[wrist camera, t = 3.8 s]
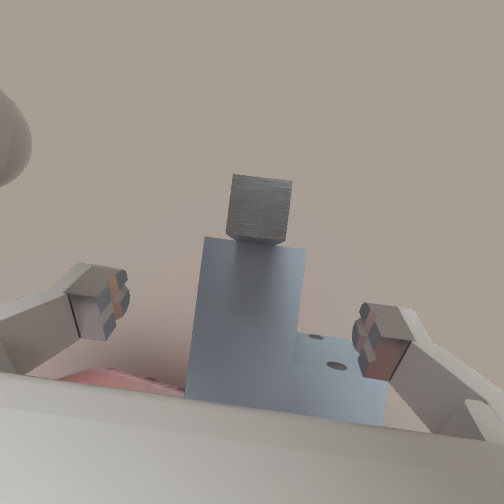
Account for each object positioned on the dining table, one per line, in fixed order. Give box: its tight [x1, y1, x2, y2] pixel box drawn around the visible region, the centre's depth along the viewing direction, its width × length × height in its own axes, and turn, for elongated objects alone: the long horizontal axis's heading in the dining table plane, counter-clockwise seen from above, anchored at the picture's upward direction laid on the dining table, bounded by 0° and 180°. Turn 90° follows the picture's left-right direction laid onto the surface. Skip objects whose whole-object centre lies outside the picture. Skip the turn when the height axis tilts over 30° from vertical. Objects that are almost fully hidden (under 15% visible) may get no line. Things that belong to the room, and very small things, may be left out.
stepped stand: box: [184, 237, 388, 426], centre depth 27 cm, size 16×10×26 cm, turn 89°
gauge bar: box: [226, 174, 293, 246], centre depth 24 cm, size 4×20×4 cm, turn 178°
